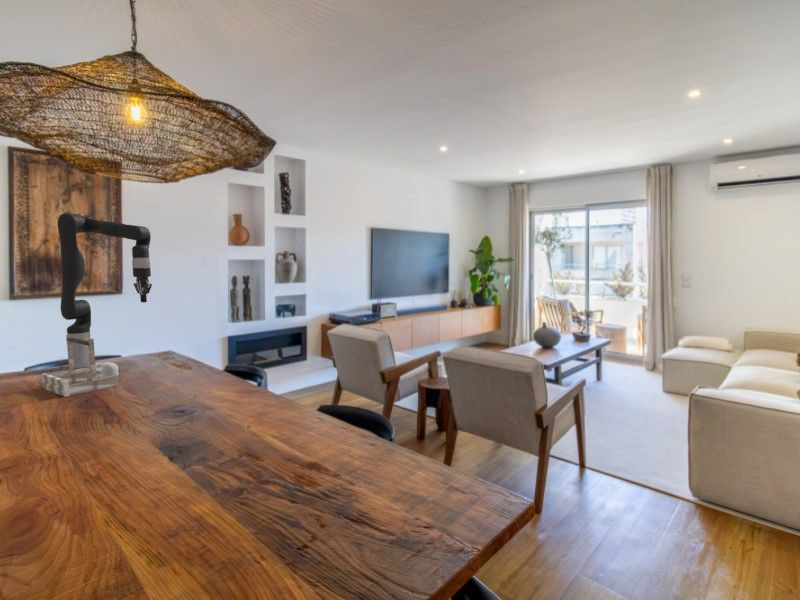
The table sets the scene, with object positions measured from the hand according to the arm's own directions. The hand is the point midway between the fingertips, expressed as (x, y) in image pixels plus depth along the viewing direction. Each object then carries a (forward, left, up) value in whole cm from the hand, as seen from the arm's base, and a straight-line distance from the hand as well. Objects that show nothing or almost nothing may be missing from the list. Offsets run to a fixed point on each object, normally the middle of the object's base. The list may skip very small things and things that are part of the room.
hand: (143, 302), depth 216 cm
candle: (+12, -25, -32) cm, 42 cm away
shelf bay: (+12, -33, -32) cm, 48 cm away
